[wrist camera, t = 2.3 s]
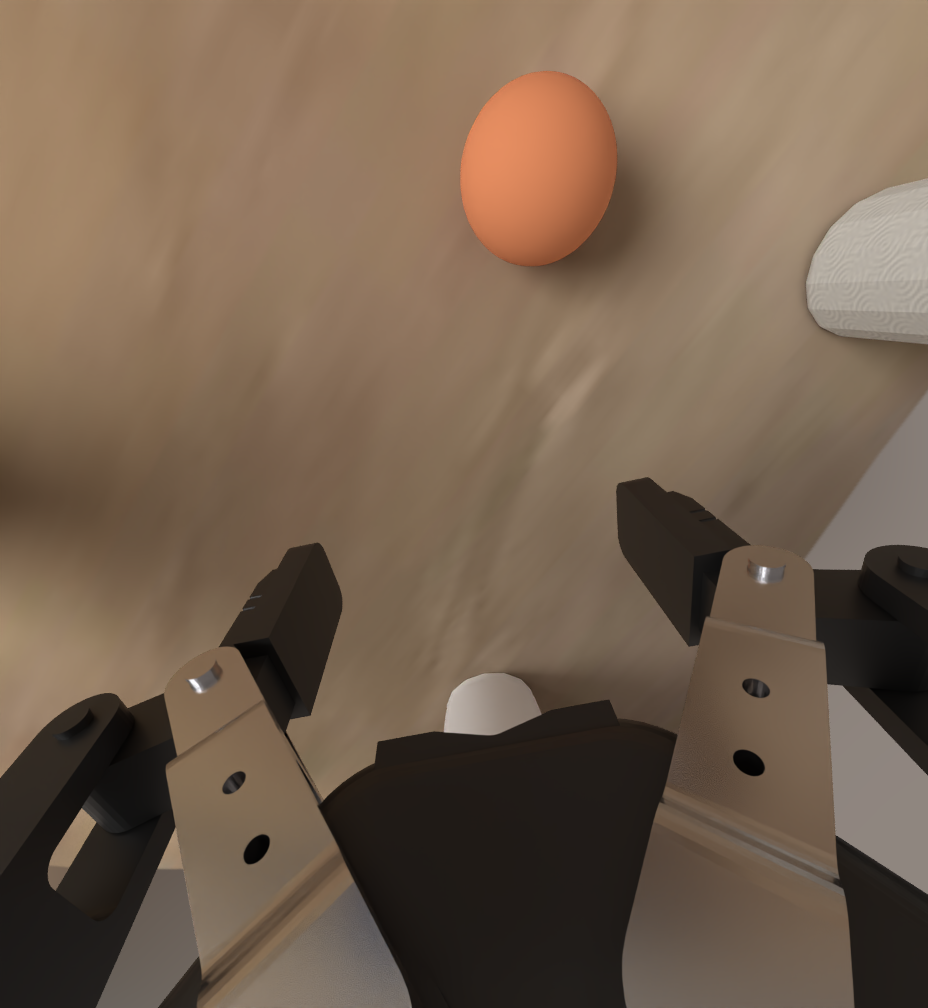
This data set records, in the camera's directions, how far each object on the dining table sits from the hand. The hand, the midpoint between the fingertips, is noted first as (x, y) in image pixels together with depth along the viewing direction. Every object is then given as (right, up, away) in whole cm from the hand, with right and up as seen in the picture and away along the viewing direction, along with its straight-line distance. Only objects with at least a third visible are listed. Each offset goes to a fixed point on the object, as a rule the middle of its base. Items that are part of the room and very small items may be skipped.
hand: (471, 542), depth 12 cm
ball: (+2, +13, +4) cm, 14 cm away
